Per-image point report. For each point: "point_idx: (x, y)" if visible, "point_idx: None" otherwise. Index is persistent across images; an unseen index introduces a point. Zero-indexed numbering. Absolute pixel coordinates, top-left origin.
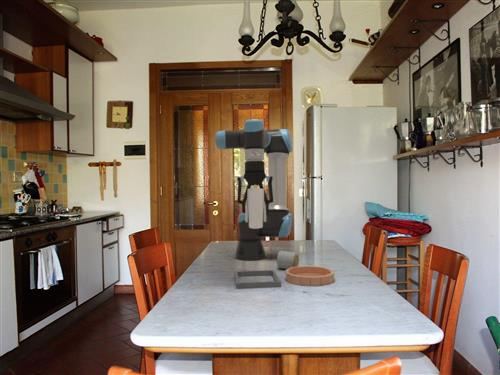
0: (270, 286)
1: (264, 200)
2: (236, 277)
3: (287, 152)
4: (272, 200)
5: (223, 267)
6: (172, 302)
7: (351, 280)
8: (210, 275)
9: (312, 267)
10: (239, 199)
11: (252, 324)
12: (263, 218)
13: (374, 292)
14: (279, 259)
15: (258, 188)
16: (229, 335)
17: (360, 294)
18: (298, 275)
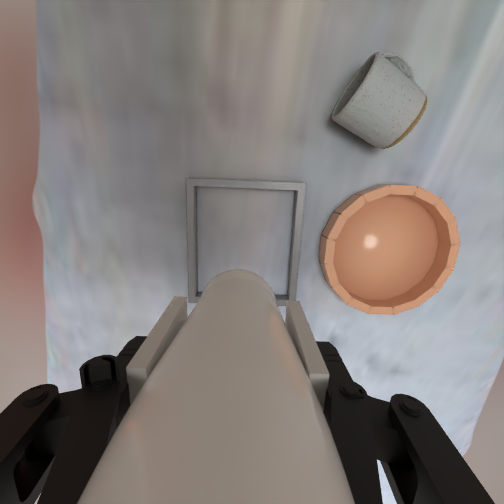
0: None
1: (332, 420)
2: (189, 248)
3: None
4: (405, 469)
5: (150, 43)
6: (68, 363)
7: (473, 277)
8: (116, 157)
9: (422, 200)
10: (34, 477)
11: None
12: (288, 317)
13: (463, 365)
14: (344, 121)
15: None
16: None
17: (430, 372)
18: (362, 223)
